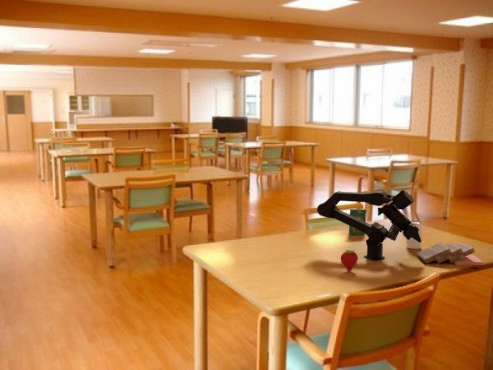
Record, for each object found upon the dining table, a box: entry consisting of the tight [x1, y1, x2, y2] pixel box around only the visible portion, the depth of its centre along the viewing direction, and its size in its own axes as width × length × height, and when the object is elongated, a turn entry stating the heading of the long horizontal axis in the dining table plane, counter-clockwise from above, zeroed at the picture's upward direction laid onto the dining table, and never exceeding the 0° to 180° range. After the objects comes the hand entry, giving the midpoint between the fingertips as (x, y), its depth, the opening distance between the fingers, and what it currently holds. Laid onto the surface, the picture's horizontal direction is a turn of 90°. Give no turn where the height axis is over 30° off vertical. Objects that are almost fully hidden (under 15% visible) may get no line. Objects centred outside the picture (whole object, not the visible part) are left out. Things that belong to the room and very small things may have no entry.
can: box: [406, 220, 423, 250], centre depth 230 cm, size 6×6×12 cm
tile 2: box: [434, 242, 463, 265], centre depth 211 cm, size 2×10×11 cm
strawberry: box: [340, 246, 359, 272], centre depth 197 cm, size 6×8×10 cm
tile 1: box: [416, 241, 451, 264], centre depth 211 cm, size 2×10×11 cm
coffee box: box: [348, 208, 367, 236], centre depth 254 cm, size 8×3×13 cm, turn 103°
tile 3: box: [445, 242, 476, 264], centre depth 211 cm, size 2×10×11 cm
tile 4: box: [452, 254, 484, 266], centre depth 210 cm, size 2×10×11 cm
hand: (420, 241), depth 210 cm, fingers closed
